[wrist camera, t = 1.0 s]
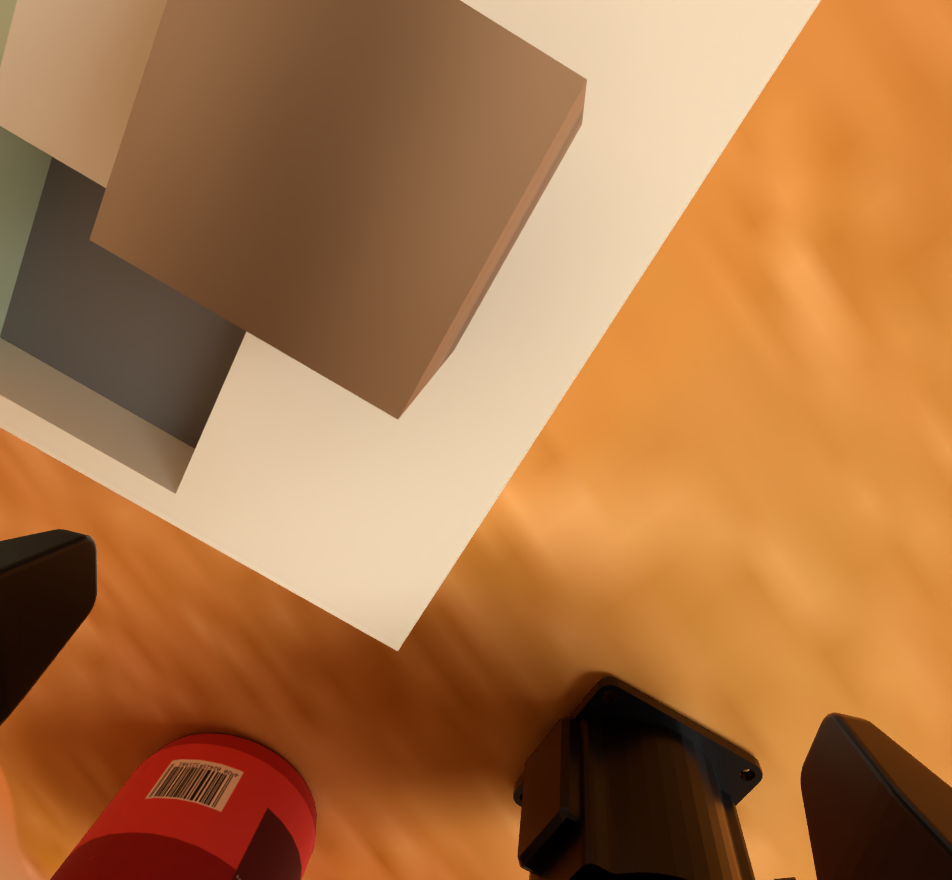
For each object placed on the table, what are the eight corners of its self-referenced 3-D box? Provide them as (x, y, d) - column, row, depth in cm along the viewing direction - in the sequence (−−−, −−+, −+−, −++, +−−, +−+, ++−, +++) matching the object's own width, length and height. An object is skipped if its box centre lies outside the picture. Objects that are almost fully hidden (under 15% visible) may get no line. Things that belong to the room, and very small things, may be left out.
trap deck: (914, -178, 15) (992, -264, 12) (418, 597, 24) (397, 651, 21) (30, -767, 14) (-106, -1011, 11) (-163, 267, 22) (-268, 276, 20)
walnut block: (582, 125, 15) (587, 79, 10) (454, 350, 17) (398, 419, 12) (349, -20, 15) (217, -152, 9) (248, 227, 17) (89, 239, 12)
